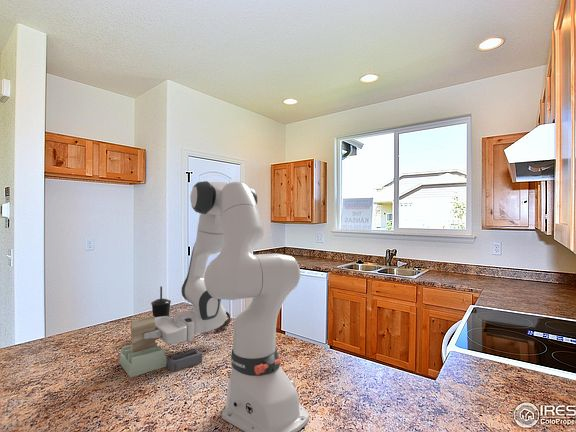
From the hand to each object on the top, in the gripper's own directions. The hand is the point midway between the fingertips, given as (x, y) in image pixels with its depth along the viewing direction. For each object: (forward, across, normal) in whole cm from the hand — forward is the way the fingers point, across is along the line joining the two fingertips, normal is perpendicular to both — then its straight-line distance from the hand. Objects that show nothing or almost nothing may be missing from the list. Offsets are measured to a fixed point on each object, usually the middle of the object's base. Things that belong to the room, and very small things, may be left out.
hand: (141, 334), depth 103 cm
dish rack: (0, 0, +10) cm, 10 cm away
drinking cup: (-14, -23, +10) cm, 29 cm away
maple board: (0, 0, +8) cm, 8 cm away
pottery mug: (-36, -16, +10) cm, 41 cm away
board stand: (-11, +9, +10) cm, 17 cm away
